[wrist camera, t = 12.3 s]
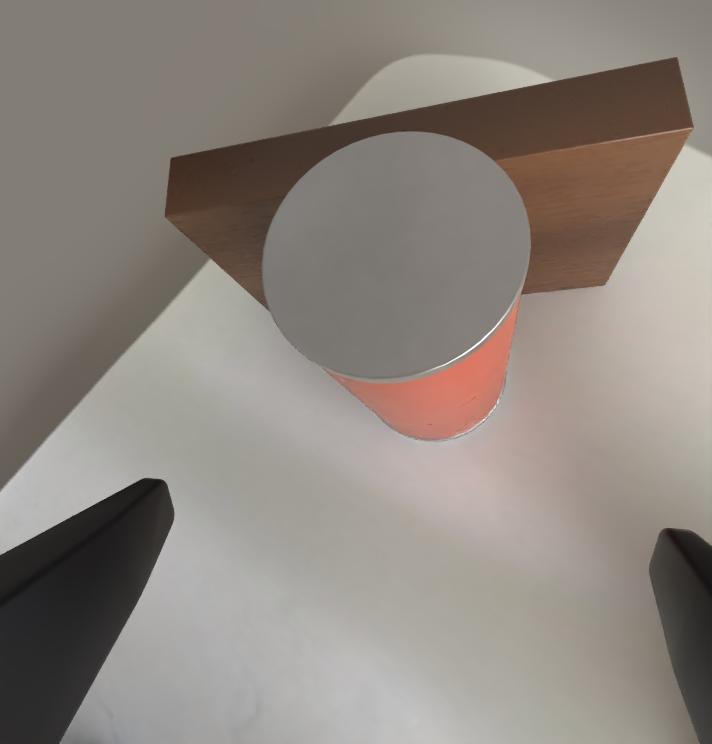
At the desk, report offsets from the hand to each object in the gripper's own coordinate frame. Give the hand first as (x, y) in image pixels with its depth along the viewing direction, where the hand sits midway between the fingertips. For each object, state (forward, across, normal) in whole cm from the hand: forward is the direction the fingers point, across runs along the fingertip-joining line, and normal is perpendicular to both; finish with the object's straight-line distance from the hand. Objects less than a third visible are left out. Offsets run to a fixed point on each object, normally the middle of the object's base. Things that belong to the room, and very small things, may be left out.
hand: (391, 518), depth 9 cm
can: (+14, 0, +4) cm, 15 cm away
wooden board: (+17, 0, +1) cm, 17 cm away
